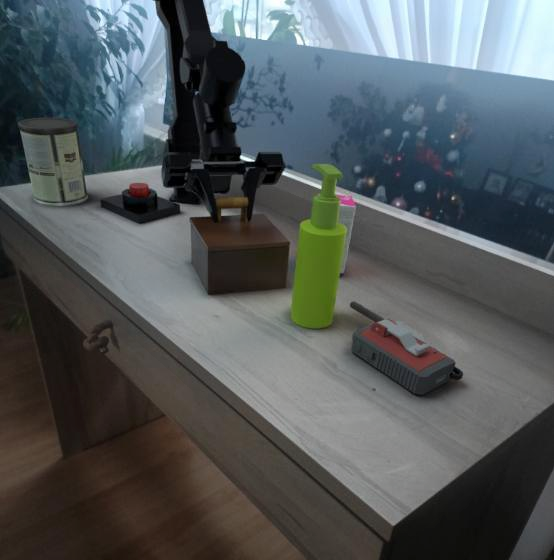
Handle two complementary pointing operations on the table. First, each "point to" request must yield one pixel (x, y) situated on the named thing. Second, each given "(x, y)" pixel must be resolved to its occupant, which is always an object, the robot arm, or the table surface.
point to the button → (139, 189)
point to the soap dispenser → (319, 256)
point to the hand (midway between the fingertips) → (233, 220)
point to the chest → (239, 267)
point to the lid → (237, 229)
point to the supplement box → (346, 223)
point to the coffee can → (54, 160)
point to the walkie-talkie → (402, 353)
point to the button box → (140, 206)
